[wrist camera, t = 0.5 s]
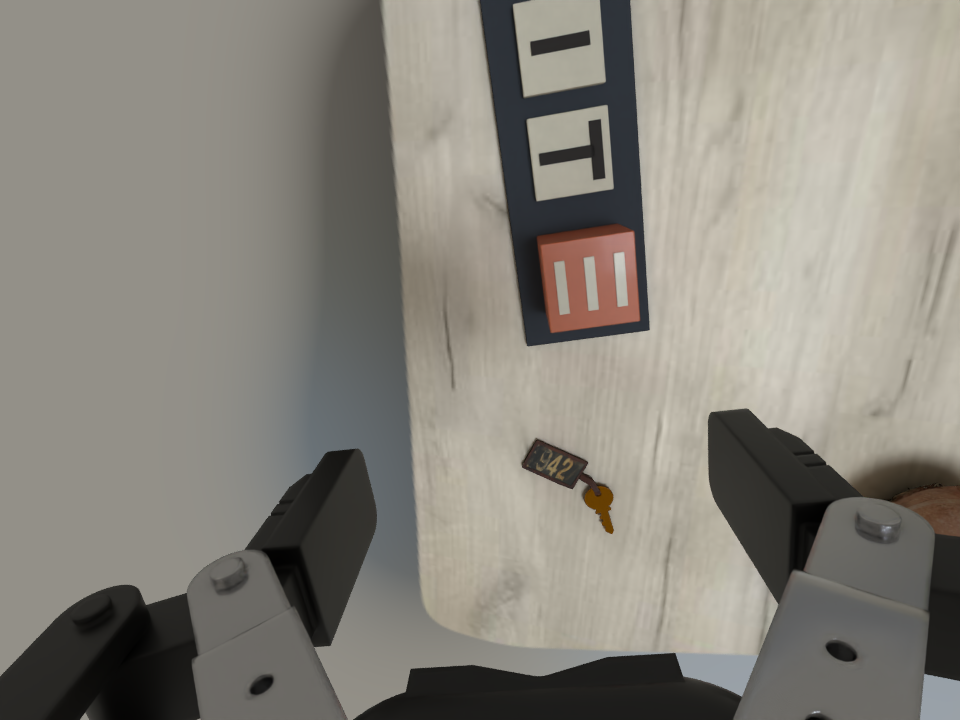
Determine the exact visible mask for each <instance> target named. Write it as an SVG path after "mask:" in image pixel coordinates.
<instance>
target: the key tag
mask: <svg viewBox="0 0 960 720" xmlns="http://www.w3.org/2000/svg"><path fill="white" fill-rule="evenodd" d="M587 464H588V462H587V461H585V460H582V459H580V458H578V457H575V456H573V455H571V454H569V453H566V452H564V451H562V450H560V449H557V448H555V447H553V446H550V445H548V444H546V443H544V442H541V441H539V440H536V442H535V444H534V445H533V447H532V449H531V451H530V452H529V454H528V456H527V458H526V460H525V461H524V463H523V466H522V468H524V469H526V470H529V471H531V472H533V473H535V474H537V475H540V476H542V477H544V478H546V479H549V480H551V481H553V482H555V483H557V484H560V485H562V486H565V487H568V488H570V489H573V488H574V486H575V485H576V483H577V481H578V479H580V480H582V481H583V482H585V483H587V484H588V485H590V487H591V489H589V490H588V491H587V492H586V494H585V497H584V500H585V503H586V505H587V506H588V507H590V508H592V509H596V512H595V513H596V514H598V513H601V516H600V519H602V520H603V521H602V525H603V526H606V527H605V531H606V532H608V533H610V534H612V533H613V531H614V529H613V526H612V523H611V519H610V516H609V513H608V511H609V510H611V507H609V505H610V504H611V503H612V501H613V493H612V491H611V490H610V489H608V488H607V487H604V486H597V484H596V483H595V482H594V480H593V479H592V477H589V476H587V475H585V474H583V473H582V472H583V471H584V469H585V468H586V466H587Z"/></svg>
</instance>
